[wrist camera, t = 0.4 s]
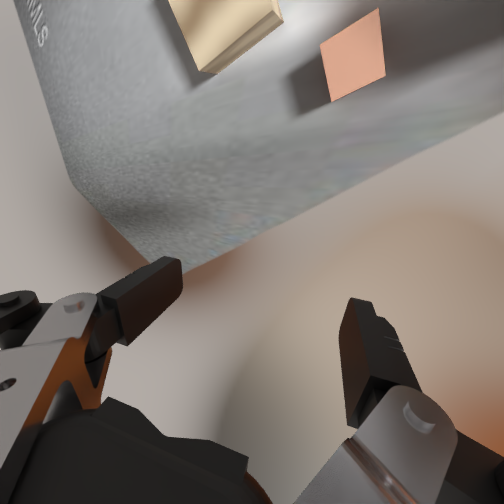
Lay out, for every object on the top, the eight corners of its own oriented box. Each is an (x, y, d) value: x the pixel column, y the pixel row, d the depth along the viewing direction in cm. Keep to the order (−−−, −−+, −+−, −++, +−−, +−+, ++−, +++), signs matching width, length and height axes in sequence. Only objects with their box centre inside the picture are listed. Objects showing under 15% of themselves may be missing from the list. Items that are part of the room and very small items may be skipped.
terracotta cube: (324, 52, 24) (319, 44, 21) (373, 22, 22) (378, 7, 18) (334, 100, 26) (331, 101, 23) (379, 78, 24) (385, 75, 20)
